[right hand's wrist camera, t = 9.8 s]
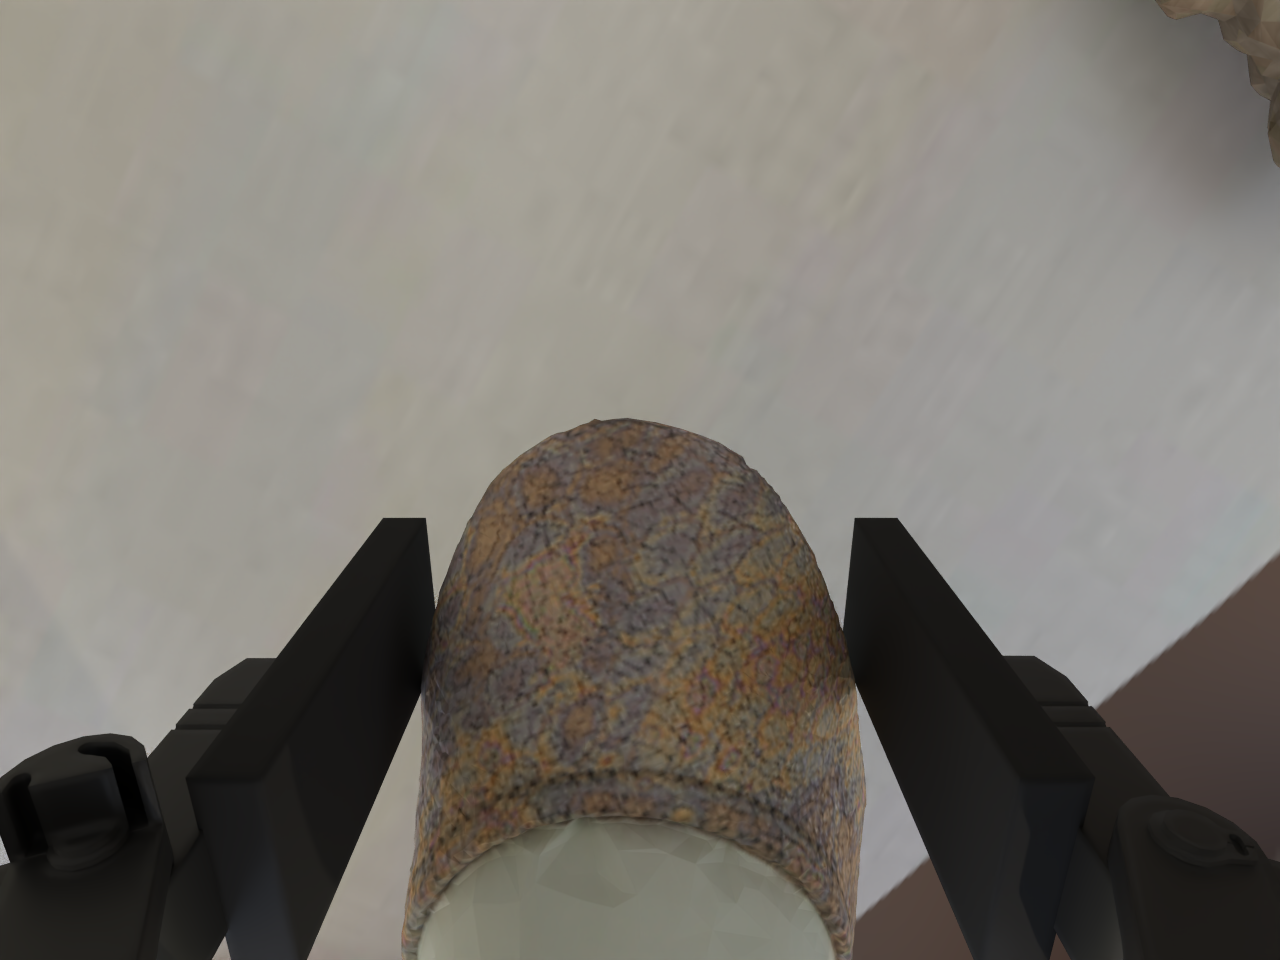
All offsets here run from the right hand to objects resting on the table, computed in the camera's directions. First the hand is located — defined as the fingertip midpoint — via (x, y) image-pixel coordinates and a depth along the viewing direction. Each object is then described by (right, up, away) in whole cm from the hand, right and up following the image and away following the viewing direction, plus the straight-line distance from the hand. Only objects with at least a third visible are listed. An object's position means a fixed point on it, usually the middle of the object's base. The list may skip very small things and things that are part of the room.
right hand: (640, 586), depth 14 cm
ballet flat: (0, -8, +3) cm, 9 cm away
